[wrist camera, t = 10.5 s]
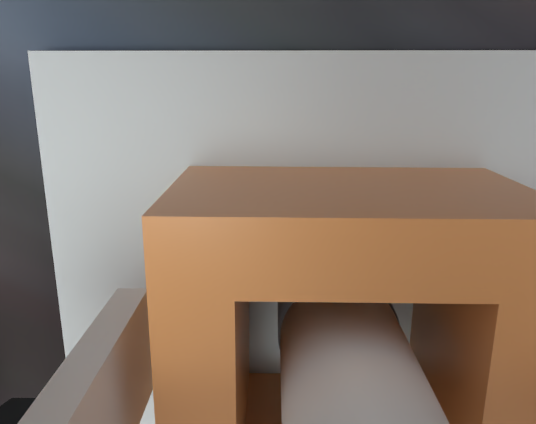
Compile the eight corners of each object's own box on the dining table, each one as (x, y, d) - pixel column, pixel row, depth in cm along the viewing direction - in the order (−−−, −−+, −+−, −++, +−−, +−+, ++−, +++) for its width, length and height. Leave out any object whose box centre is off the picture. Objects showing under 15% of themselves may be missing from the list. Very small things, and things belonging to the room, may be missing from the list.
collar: (189, 166, 13) (141, 216, 9) (485, 167, 13) (604, 220, 8) (198, 417, 16) (164, 570, 11) (453, 420, 15) (535, 576, 11)
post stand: (44, 52, 14) (-510, -3, 4) (629, 51, 13) (1534, -10, 4) (93, 470, 17) (-135, 963, 8) (551, 474, 17) (906, 986, 8)
